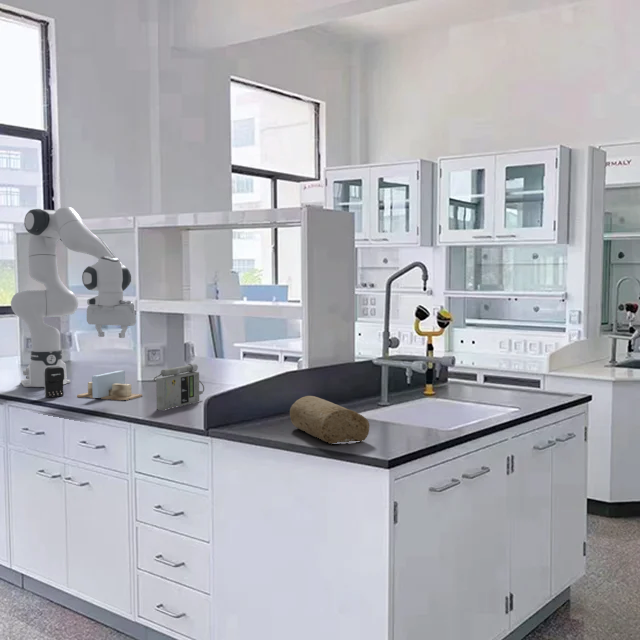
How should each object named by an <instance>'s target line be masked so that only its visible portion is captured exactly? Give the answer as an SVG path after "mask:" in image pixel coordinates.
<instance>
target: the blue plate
mask: <svg viewBox="0 0 640 640" xmlns="http://www.w3.org/2000/svg"><path fill="white" fill-rule="evenodd" d="M91 382H92V393H93V398H92V399H95V398H101V397H105V396H109V390H110V389H112V384H116V383H119V384H126V371H125V370H115V371H111V372H110V371H109V372H105V373H102V374H96V375H92V376H91Z"/></svg>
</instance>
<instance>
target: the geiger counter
mask: <svg viewBox="0 0 640 640" xmlns="http://www.w3.org/2000/svg"><path fill="white" fill-rule="evenodd" d="M198 369H199V366H198V364H197V363H195V362H193V363H188V364H187V365H182V366H181V365H180V366H177V367H171V368H164V369H162V370H161V371H160V373H159V374H158V375H156V376H155V377H154V378H153V382H155V384H156V385H155V386H156V388H155V389H156V410H157V409H158V410H157V411H160V410H164V411H166V410H165V409H168V408H172V407H176V406H180V407H183V406H182V405H184V406H187V405H186V404H188V405H191V404H190V403H192V404H196V403H199V402H200V395H202V394H204V391H205V386H204V383H203V382H202V381H201V380H200V372H199V371H198ZM200 384H201V386H202V390H200ZM198 401H199V402H198ZM195 402H196V403H195ZM176 408H177V407H176ZM172 409H173V408H172ZM168 410H169V409H168Z"/></svg>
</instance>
